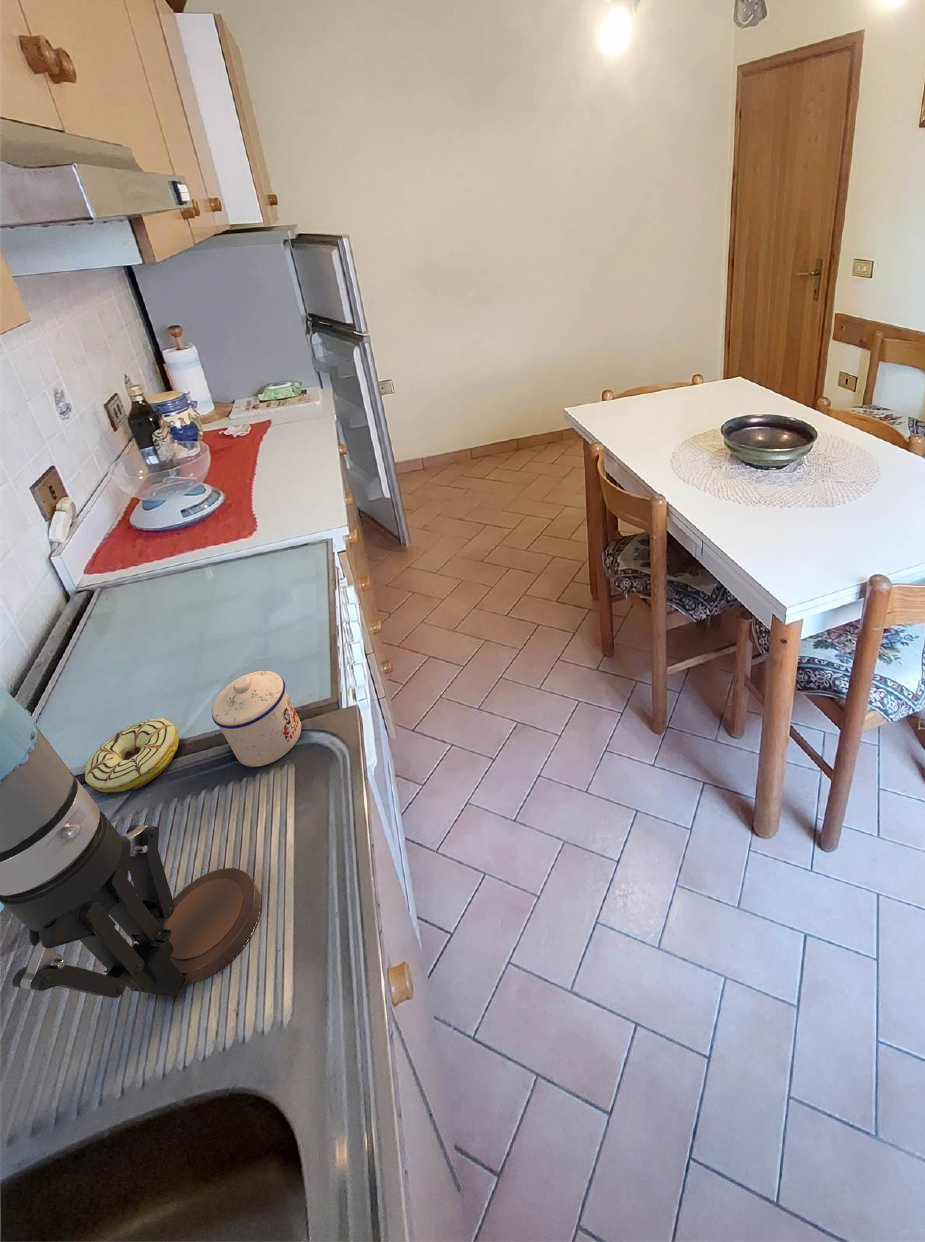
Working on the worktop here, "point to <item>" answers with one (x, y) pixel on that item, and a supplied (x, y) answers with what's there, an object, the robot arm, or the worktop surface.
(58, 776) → the robot arm
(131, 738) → the decorated donut
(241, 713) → the teacup with lid
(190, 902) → the plate
